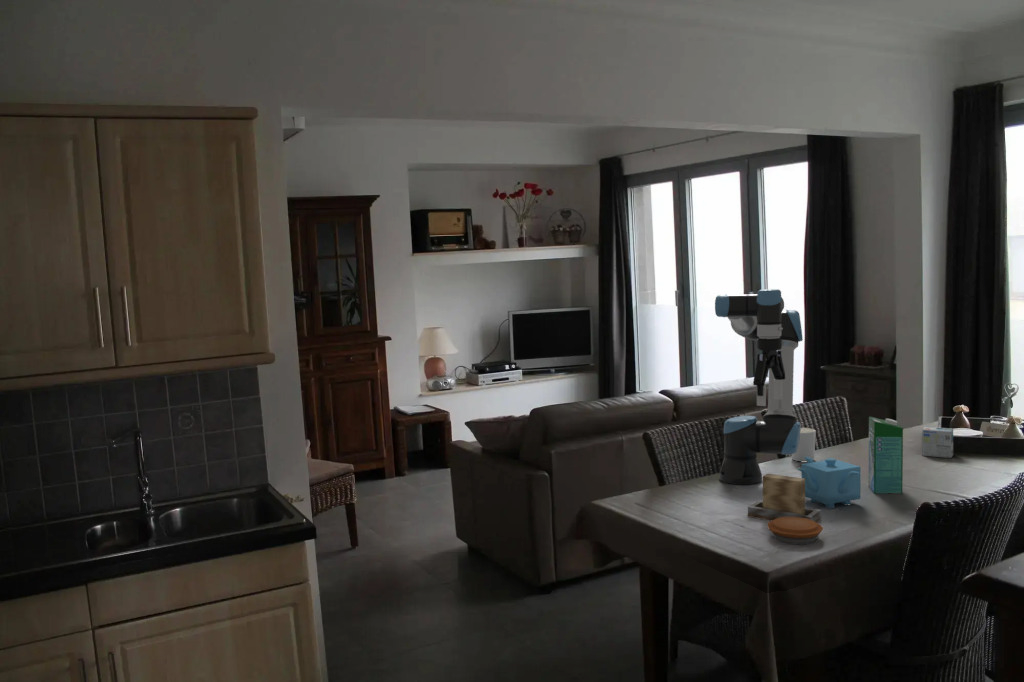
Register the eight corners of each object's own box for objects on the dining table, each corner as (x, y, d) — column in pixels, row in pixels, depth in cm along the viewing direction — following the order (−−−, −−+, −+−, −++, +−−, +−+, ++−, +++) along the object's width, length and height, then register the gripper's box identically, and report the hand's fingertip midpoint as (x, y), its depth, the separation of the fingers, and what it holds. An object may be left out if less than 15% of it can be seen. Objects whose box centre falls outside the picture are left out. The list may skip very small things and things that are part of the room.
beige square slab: (762, 513, 267) (762, 476, 265) (768, 509, 270) (767, 473, 269) (800, 519, 259) (800, 481, 258) (805, 516, 262) (805, 478, 261)
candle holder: (784, 458, 339) (784, 429, 338) (805, 455, 342) (805, 426, 341) (800, 463, 330) (800, 433, 329) (821, 461, 333) (821, 431, 332)
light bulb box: (953, 454, 336) (953, 428, 335) (951, 458, 330) (952, 431, 329) (923, 452, 341) (924, 426, 340) (921, 455, 336) (922, 429, 335)
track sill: (747, 516, 267) (747, 507, 267) (759, 509, 274) (759, 500, 274) (810, 527, 255) (810, 517, 254) (820, 519, 262) (820, 510, 261)
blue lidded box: (860, 497, 283) (861, 454, 282) (859, 513, 266) (860, 467, 265) (801, 493, 291) (801, 451, 290) (797, 508, 274) (796, 464, 272)
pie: (806, 527, 255) (806, 511, 254) (833, 544, 240) (833, 527, 239) (758, 532, 252) (757, 516, 252) (782, 549, 237) (782, 532, 237)
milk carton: (902, 493, 285) (903, 421, 283) (874, 493, 287) (874, 421, 285) (895, 486, 294) (896, 416, 292) (868, 486, 296) (868, 416, 294)
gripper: (765, 341, 259) (765, 409, 261) (795, 334, 278) (795, 397, 280) (742, 340, 264) (742, 407, 266) (773, 333, 283) (773, 395, 285)
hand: (769, 402), depth 273 cm, fingers open, 13 cm apart
